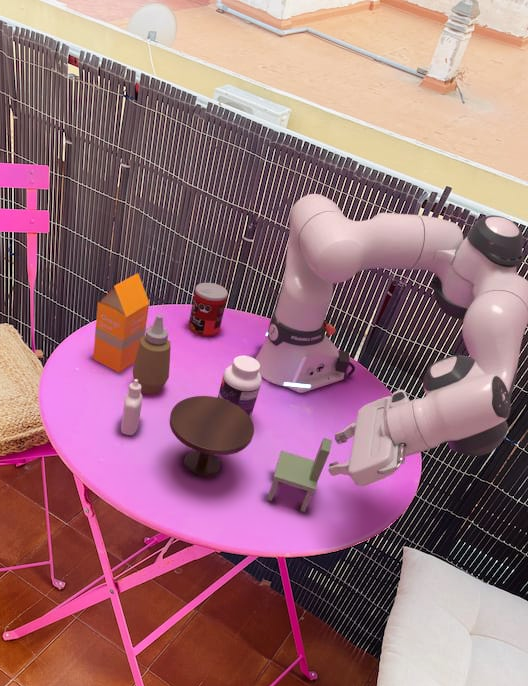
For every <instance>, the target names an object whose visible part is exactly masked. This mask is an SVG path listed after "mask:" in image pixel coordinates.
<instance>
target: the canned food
mask: <svg viewBox="0 0 528 686" xmlns="http://www.w3.org/2000/svg"><path fill="white" fill-rule="evenodd" d="M227 299H228V290H227V289H226V288H225V287H224V286H223V285H220V284H218V283H213V282H201V283H199V284H197V285H196V286H195V288H194V293H193V299H192V304H191V309H190V315H189V320H188V329H189V331H190V332H191V333H193V334H194V335H196V336H198V337H203V338H211V337H215V336H216V335H218V334H219V332H220V330H221V326H222V321H223V317H224V313H225V308H226V304H227Z"/></svg>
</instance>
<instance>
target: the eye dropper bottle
mask: <svg viewBox="0 0 528 686" xmlns="http://www.w3.org/2000/svg"><path fill="white" fill-rule="evenodd" d="M123 401H124V402H123V409H122V417H121V424H120V430H121V431H120V432H121V433H122V434H123V435H127V436H133V435H134V434H135V433H136V432H137V431H138V428H139V423H140V418H141V411H142V404H143V393H141V385H140V384H139V383H138V380H137V379H135V380H134V379H133V381H132V382H131V383H129V385H128V391H127V392H126V395H125V397H124V400H123Z"/></svg>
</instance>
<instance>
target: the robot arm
mask: <svg viewBox="0 0 528 686" xmlns="http://www.w3.org/2000/svg"><path fill="white" fill-rule="evenodd" d="M288 234H289V235H288V241H287V243H288V244H287V252H286V261H285V269H284V277H283V283H282V286H281V291H280V293H279V296H278V301H277V305H276V308H275V309H274V310H273V312H272V315H271V318H270V322H269V324H268V331H267V332H266V333H265V336H266V337H265V339H264V342H263V344H262V346H261V348H260V350H259V352H258V354H257V355H256V356H255V358H254V359H256V360H257V361H258V362H259V364H260V368H259V373H260V375H261V378H262V379H263V380H264V379H265V381H268V382H269V383H271V384H274V385H277V386H280V387H285V388H287V389H289V390H292V391H294V392H296V393H300V394H303V393H306V392H310V391H312V390H316V389H319V388H321V387H325V386H329V385H331V384H334V383H338V382H340V381H343V380H344V379H345V374H347V376H349V377H351V376H352V375H353V374H354V372H355V371H356V366H355V365H354V364H353V363H352V362H351V359H350V358H351V357H350V352H349V351H345V350H341V349H338V348H337V346H336V345H335V343H333V341H332V340H331V339H330V338H329V337H328V336H334V334H335V333H336V327H334V326H333V325H332V323H327V320H326V316H327V312H328V310H329V306H330V304H331V301H332V298H333V294H334V284H341V283H345V282H346V281H349V280H350V279H352V278H353V277H354V276H355V275H357V273H358V272H362V271H366V270H373V269H380V270H381V269H383V270H385V269H386V270H404V271H405V270H408V271H428V272H431V273H432V274H434V275H435V276H434V277H433V278H432V280H431V283H430V288H431V289H432V291H434V298H435V301H436V303H437V305H438V307H439V309H440V310H441V311H442V312H443V313H444V314H445V315H447V316H448V317H451V318H453V319H455V320H463V321H462V328H461V333H462V339H463V342H464V345H465V347H466V350H467V352H468V355H469V356H468V355H462V354H452V355H448V356H446V357H444V358H443V357H442V358H441V359H439V360H437V361H435V362H433V363H431V364H430V365H429V366H428V367H427V370H426V372H425V374H424V376H423V378H422V385H423V391H424V393H425V396H423V397H421V398H414V399H412V400H410V398H409V396H408V395H407V393H406V392H405V390H404V389H398V390H395V391H394V392H392V394H391V395H387V396H383V397H381V398H378V399H376V400H373V401H371V402H369V403H366V404H364V405H363V406H362V407H360V408H359V409H358V411H357V415H356V416H357V417H356V421H354V422H352V423H350V424H349V425H347V426H346V427H345V428H344V429H343V430H340V431H338V432H337V431H336V432H335V435H334V440H335V442H336V444H338V445H341V444H344V443H347V442H348V440H349V439H350V438H353V440H352V445H351V450H350V457H349V460H346V461H345V462H344V463H339V462H338V461H334V462H331V463H329V466H328V469H327V471H328V473H329V475H330V476H332V477H334V476H338V475H344V476H349V477H350V479H351V481H352V482H353V483H354V485H355V486H358V487H365V486H368V485H371V484H373V483H376V482H379V481H381V480H383V479H387V478H388V477H390V476H392V475H394V473H396V472H397V471H398V470H399V468H400V467H401V466H402V465H403V464H405V461H406V457H409V456H412V455H417V454H419V453H422V452H425V451H429V450H431V449H435V448H437V447H438V446H439V445H441V444H444V443H446V442H447V444H448V447H449V448H450V450H451V451H453V452H455V453H457V454H461V455H464V456H468V457H482V456H484V455H487V454H490V453H492V452H493V451H495V450H496V449H497V448H498V447H499V446H500V445H501V444H502V442H503V441H504V440H505V437H506V436H507V433H508V431H509V425H508V422H507V419H509V417H510V413H511V411H512V410H511V409H512V404H511V398H512V395H513V391H514V389H515V385H516V379H517V376H518V367H519V359H520V353H521V346H522V341H523V338H524V334H525V330H526V328H527V326H528V279H526V278H525V277H523V276H521V275H519V274H518V272H517V267H518V266H519V264H522V263H523V262H524V261H525V255H524V253H523V247H524V237H523V236H524V235H523V232H522V230H521V227H520V226H519V225H518V224H517V223H516V222H514V221H513V220H511V219H509V218H507V217H505V216H501V215H487V216H482V217H480V218H479V219H478V220H476V222H474V224H473V225H472V226H471V228H470V229H469V230H468V231H467V233H466V237H465V238H464V235H463V231H462V228H461V227H460V226H459V225H458V224H457V223H455V222H453V221H450V220H447V219H442V218H439V217H435V216H429V215H423V214H422V215H421V214H409V213H408V214H407V213H395V212H394V213H392V212H380V213H377V214H375V215H374V216H373V217H372V218H370V219H364V220H354V219H350V218H348V217H346V216H345V214H344V213H343V211H342V210H341V209H340V207H339V206H338V205H337V204H336V202H334V200H331V199H330V198H328V197H326V196H324V195H322V194H320V193H309V194H306V195H304V196H303V197H301V198H300V199H298V200H297V201H295V203H294V205H292V208H291V210H290V213H289V232H288ZM325 332H326V333H327V335H328V336H327V335H326V334H325ZM349 367H351V370H350V371H349V372H348V373H347V371H348V369H349Z"/></svg>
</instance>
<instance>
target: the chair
mask: <svg viewBox="0 0 528 686" xmlns="http://www.w3.org/2000/svg"><path fill="white" fill-rule="evenodd" d="M332 443H333V440H332V439H329V438H326V437H323V438H322V441H321V443H320V446H319V448H318V450H317V453H316V456H315V459H311V458H308V457H304V456H301V455H298V454H294V453H291V452H288V451H285V450H280V453H279V456H278V459H277V464H276V468H275V470H274V474H273V478H272V481H273V482H272V485H271V488H270V490H269V491H268V492H269V493H268V495H267V499H266V500H267V501H270V502H272V501H273V498H274V496H275V494H276V490H277V487H278V485H279V483H281V484H285V485H287V486H290V487H291V486H292V487H293V488H298V489H300V490H304V491H306V494H305V496H304V499H303V501H302V504H301V506H300V509H299V510H300V511H301V512H306V509H307V507H308V506H309V503H310V501H311V498H312V496H313V494H315V492H316V490H317V485H318V481H319V479H320V477H321V474H322V471H323V469H324V467H325V465H326V462H327V460H328V457H329V455H330V454H331V453H330V452H331V448H332Z"/></svg>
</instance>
